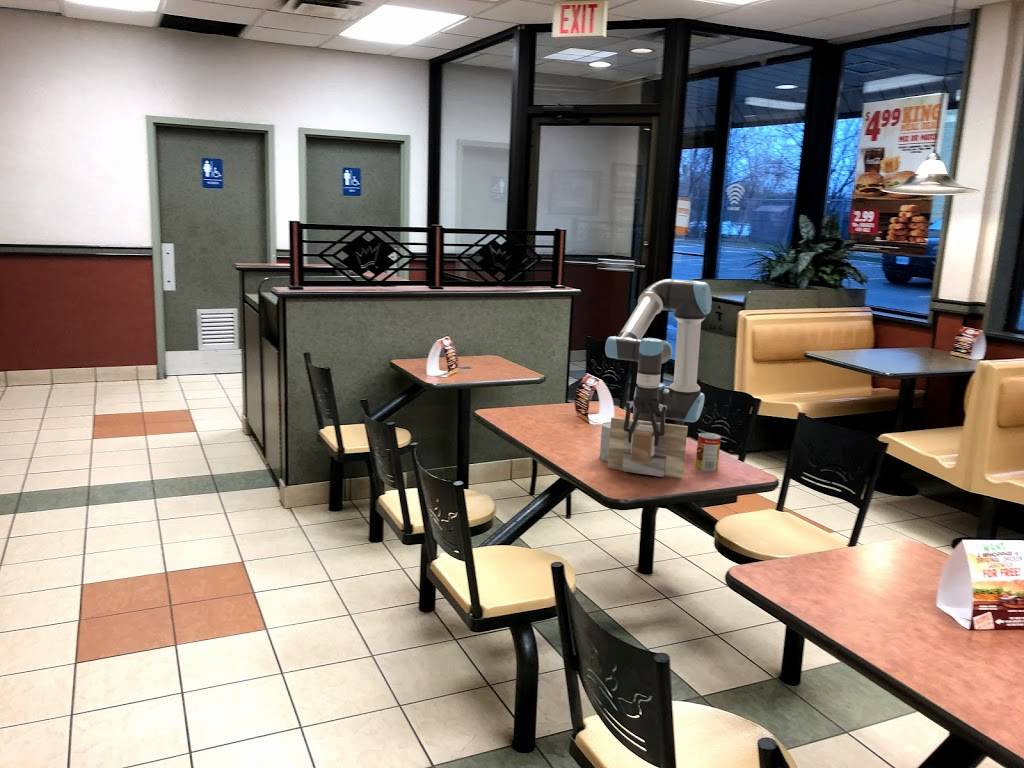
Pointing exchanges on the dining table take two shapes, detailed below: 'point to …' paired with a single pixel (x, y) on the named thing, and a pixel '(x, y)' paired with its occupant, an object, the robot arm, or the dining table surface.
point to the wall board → (665, 453)
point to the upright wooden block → (642, 444)
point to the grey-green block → (605, 441)
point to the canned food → (708, 451)
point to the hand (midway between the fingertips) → (642, 453)
